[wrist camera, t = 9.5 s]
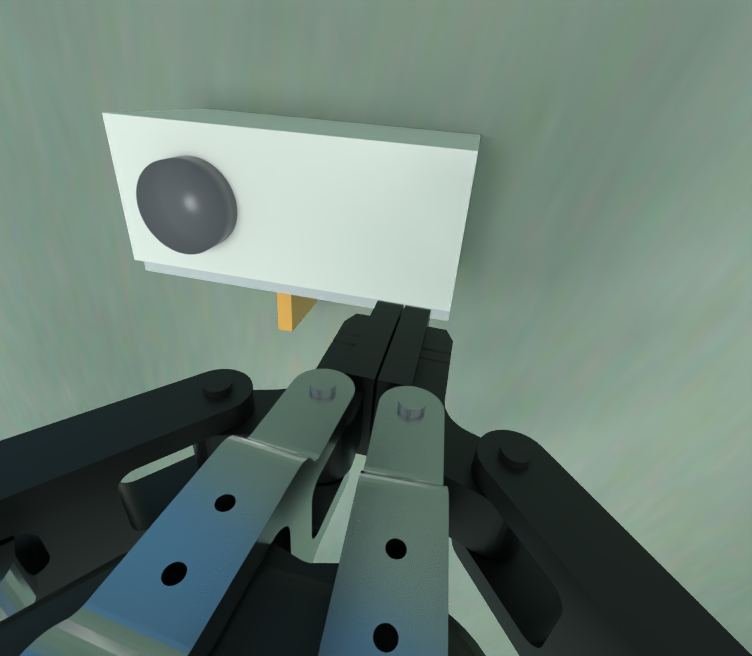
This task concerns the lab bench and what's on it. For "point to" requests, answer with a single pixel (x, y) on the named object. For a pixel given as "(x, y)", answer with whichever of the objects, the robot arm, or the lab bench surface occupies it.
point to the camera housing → (296, 203)
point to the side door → (292, 310)
